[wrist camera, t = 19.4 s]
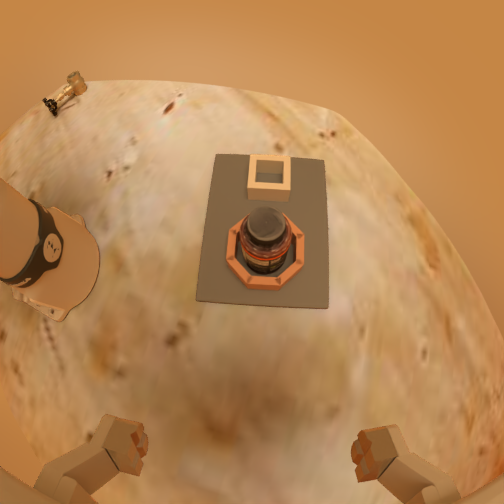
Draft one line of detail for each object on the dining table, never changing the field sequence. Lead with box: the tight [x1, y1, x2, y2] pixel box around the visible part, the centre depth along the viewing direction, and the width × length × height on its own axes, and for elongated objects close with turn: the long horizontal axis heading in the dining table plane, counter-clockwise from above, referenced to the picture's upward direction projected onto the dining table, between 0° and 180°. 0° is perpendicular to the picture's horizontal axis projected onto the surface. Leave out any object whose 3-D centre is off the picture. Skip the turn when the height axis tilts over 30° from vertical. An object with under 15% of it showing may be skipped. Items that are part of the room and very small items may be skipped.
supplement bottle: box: [239, 205, 292, 274], centre depth 34 cm, size 6×6×11 cm
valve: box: [42, 71, 87, 116], centre depth 52 cm, size 7×7×12 cm
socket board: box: [196, 154, 329, 309], centre depth 40 cm, size 24×18×4 cm
